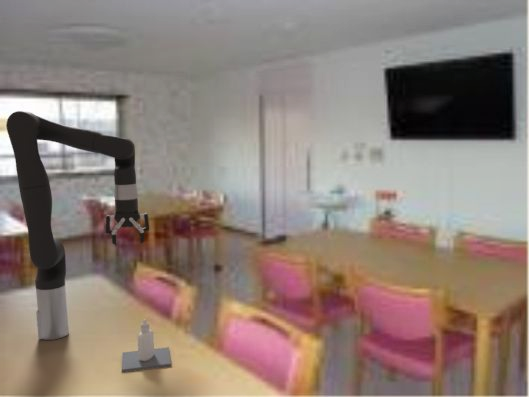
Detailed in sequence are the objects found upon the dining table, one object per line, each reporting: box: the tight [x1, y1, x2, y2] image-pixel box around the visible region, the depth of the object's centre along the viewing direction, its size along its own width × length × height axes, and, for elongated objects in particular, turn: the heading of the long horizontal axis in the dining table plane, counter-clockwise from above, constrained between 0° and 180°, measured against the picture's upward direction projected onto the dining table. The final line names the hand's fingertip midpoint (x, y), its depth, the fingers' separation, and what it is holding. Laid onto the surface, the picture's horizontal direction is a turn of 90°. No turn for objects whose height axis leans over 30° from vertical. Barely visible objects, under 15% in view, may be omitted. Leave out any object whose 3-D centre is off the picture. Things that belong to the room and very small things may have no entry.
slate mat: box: [121, 347, 172, 373], centre depth 160 cm, size 14×12×1 cm
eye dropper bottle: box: [137, 318, 155, 361], centre depth 160 cm, size 4×6×12 cm
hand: (128, 244), depth 183 cm, fingers open, 8 cm apart
